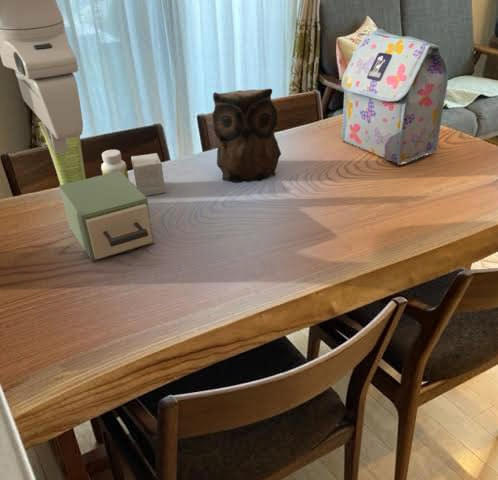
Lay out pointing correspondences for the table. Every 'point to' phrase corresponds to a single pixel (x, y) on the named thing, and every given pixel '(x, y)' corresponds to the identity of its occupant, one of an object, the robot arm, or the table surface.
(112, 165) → the supplement bottle
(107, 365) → the table surface
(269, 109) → the owl
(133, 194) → the cabinet
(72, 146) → the tube
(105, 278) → the table surface
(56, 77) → the robot arm
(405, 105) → the lunch bag
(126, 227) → the drawer
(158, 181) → the product box
